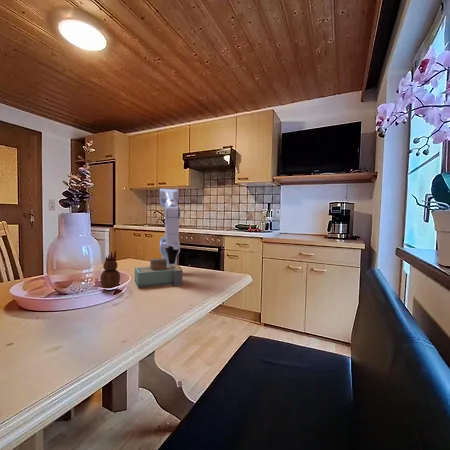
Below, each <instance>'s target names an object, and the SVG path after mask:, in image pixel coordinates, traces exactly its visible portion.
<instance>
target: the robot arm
mask: <svg viewBox="0 0 450 450" xmlns="http://www.w3.org/2000/svg"><path fill="white" fill-rule="evenodd" d="M179 191H180V190H179V189H178V188H177V189H173V188H172V189H171V188H160V189H159V205H160V207H162V208H163V210H164V230H165V231H164V236H162V237H160V240H159V253H160V255H161V258H165V259H166V260H167V265H174V264H178V254H180V252H181V242H180V235H179V234H180V233H179V231H180V227H179V226H180V219H181V208H180V205H179V199H180V195H179V194H180V192H179ZM178 205H179V206H178Z"/></svg>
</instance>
